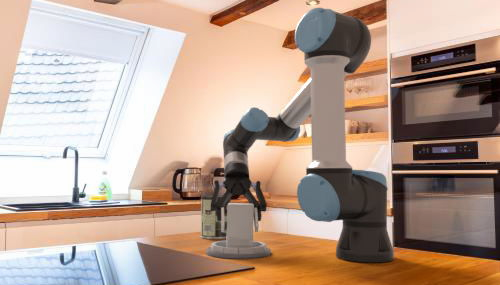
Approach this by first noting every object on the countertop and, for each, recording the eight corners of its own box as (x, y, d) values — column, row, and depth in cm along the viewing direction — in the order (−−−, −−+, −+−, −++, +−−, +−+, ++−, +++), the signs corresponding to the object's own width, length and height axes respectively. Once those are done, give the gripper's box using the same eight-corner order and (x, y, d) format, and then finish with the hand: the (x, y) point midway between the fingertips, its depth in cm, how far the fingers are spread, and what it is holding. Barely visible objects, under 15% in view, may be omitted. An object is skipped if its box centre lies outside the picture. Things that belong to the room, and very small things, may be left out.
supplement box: (253, 251, 133) (254, 204, 134) (225, 250, 133) (227, 203, 134) (252, 247, 140) (253, 202, 141) (226, 246, 140) (227, 202, 141)
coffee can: (231, 235, 173) (232, 195, 173) (229, 239, 162) (230, 196, 163) (202, 234, 173) (202, 194, 174) (198, 239, 162) (199, 196, 163)
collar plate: (276, 249, 143) (276, 241, 143) (263, 260, 126) (263, 250, 126) (217, 246, 147) (217, 238, 148) (196, 256, 130) (196, 247, 130)
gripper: (269, 178, 154) (277, 237, 137) (201, 178, 152) (200, 237, 135) (272, 161, 149) (280, 220, 132) (201, 160, 147) (200, 220, 130)
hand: (239, 229), depth 134 cm, fingers open, 9 cm apart
